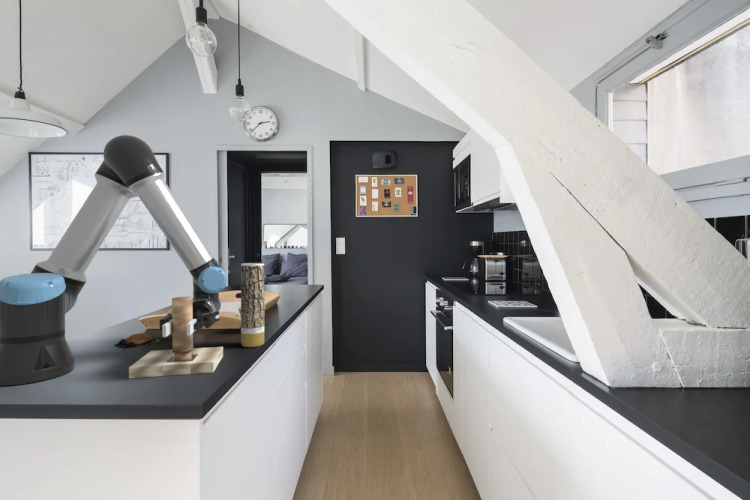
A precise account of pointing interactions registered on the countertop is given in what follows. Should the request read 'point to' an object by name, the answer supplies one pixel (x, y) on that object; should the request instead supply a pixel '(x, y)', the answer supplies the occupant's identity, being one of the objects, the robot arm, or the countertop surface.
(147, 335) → the brown beetle
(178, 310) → the peg
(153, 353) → the board
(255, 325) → the paper tube
